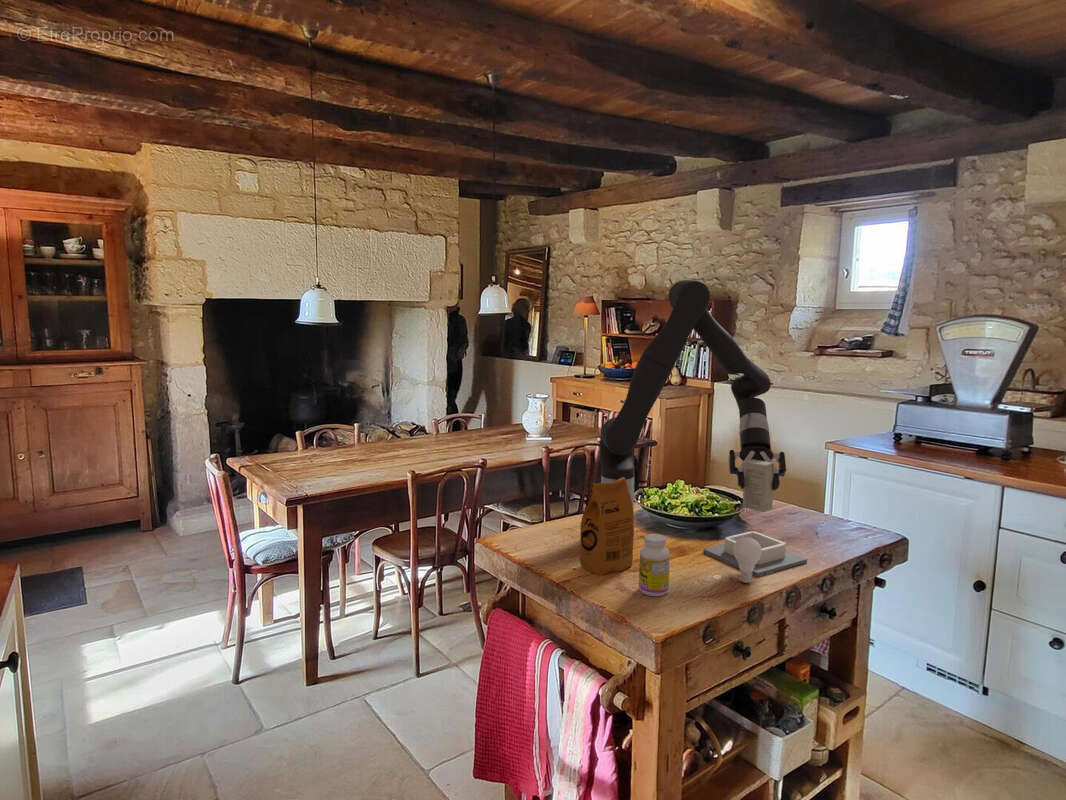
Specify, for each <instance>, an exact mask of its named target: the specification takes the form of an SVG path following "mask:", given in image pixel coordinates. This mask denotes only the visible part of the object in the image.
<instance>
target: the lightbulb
mask: <svg viewBox="0 0 1066 800" xmlns="http://www.w3.org/2000/svg"><path fill="white" fill-rule="evenodd" d="M733 553H734V556H735V558H736V560H737V561H738V563H739V568H740V569H739V568H738V569H739V571H740V574H739V581H740V582H742V583H743V584H750V583H752V581H753V575H752V571H753V570H754V567H755V564H756V563H757V562H758V561H759V560H760V558H761V555H762V549H761V546H760V544H759V543H758V542H757V541H756V540H755V539H753V538H750V537H743V538H740V539H739V540H737V541H736V543H735V544H734V547H733Z"/></svg>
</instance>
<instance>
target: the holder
mask: <svg viewBox="0 0 1066 800" xmlns="http://www.w3.org/2000/svg"><path fill="white" fill-rule="evenodd" d="M743 537H750V538H753V539H755V540H756V541H757V542H758V543H759V544H760V546H761V549H762V555H761V558H760V560H759V561H758V562H757V563H756V564H755V567H754V570H753V571H752V576H754V575H755V576H754V577H756V576H759V577H762V576H765V575H764V574H766V575H768V574H767V573H769V574H772V573H771V572H773V573H776V572H779V571H778V570H780V571H783V570H782V569H784V570H786V569H785V568H787V569H790V568H789V567H791V568H793V567H792V566H794V567H796V566H795V565H798V566H800V565H799V564H801V565H803V564H802V563H805V564H807V563H806V562H808V558H806V557H803V556H800V555H797V554H795V553H793V552H790V551H787V543H786V542H784V541H781V540H779V539H776V538H774V537H771V536H767V535H766V534H763V533H761V532H758V531H754V530H753V531H747V532H743V533H739V534H735V535H730V536H726V537H725V538H724V539H723V540H724V541H723V543H722V544H718V545H714V546H710V547H706V548H705V547H704V548H703V552H704V553H703V554H706V555H708V554H709V555H708V556H710V555H711V556H710V557H712V556H713V558H714V557H715V559H717V560H719V559H720V560H719V561H721V560H722V561H721V562H723V561H724V562H723V563H725V562H726V563H725V564H728V565H730V564H731V565H730V566H732V565H733V566H732V567H734V566H735V568H736V567H737V569H739V570H740V568H739V563H738V561H737V560H736V558H735V556H734V553H733V547H734V544H735V543H736V541H737V540H739V539H740V538H743ZM775 571H776V572H775ZM761 575H762V576H761Z"/></svg>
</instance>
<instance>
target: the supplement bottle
mask: <svg viewBox="0 0 1066 800" xmlns="http://www.w3.org/2000/svg"><path fill="white" fill-rule="evenodd" d="M666 541H667V537H666V536H665V535H663V534H658V533H649V534H646V535H645V536H644V543H645V545H643V546H642V547H641V548H640V550H639V573H638V574H639V575H638V589H639V591H640V593H642V594H644V595H645V596H649V597H662V596H663V597H664V596H665V595H666V594H668V592H669V582H670V581H669V580H670V557H671V556H670V555H671V553H670V550H669V549H668V547H666V546H665V545H666V543H667V542H666Z"/></svg>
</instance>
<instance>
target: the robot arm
mask: <svg viewBox="0 0 1066 800" xmlns="http://www.w3.org/2000/svg"><path fill="white" fill-rule="evenodd" d="M710 301H711V291H710V289H709V287H708V285H707V284H706V283H705V282H703V281H701V280H698V279H697V280H696V279H683V280H679V281H676V282H675V283H674V284H672V285H671V287H670V289H669V291H668V303H669V305H670V306H671V308H672V310H671V313H670V315H669V317H668V319H667V321H666V322H665V324H664V325H663V327H662V328H661V329H660V331H659V332H658V333H657V334H656V335H655V336H654V337H653V338H652V340H651V341H650V342H649V343H648V344H647V346H646V347H645V349H643V350H644V351H643V352H642V354H641V356H640V358H639V360H638V362H637V363H636V365H635V367H634V370H633V372H632V376H631V378H630V382H629V387H628V389H627V395H626V397H625V399H624V402H623V404H622V407H621V409H620V410H619V412H618V414H617V415H616V417H611V418H610V419H608V420H606V421H605V422H604V423H603V425H602V426H601V429H600V435H599V436H600V438H599V439H600V440H599V441H600V444H599V445H600V450H599V452H600V453H599V454H600V455H599V456H600V459H599V461H600V462H599V463H600V470H601V471H600V473H601V474H600V476H601V477H600V478H601V479H600V481H601V482H600V483H614V482H615V481H617V480H618V479H620V478H622V477H624V478H625V479H626V483H627V486H628V489H629V494H630V496H631V500H632V503H633V507H634V503H635V501H634V499H635V498H634V497H635V472H636V471H635V470H636V469H635V464H634V455H633V453H634V451H633V450H634V448H635V447H636V446H637V443H638V441H639V439H640V435H641V433H642V431H643V429H644V425H645V423H646V421H647V418H648V416H649V413H650V411H651V410H652V408H653V406H654V405H655V404H656V402H657V399H658V398H659V396H660V395H661V392H662V390H663V388H664V387H665V385H666V383H667V382H668V379H669V378H670V375H671V374H672V372H673V370H674V367H675V365H676V363H677V361H678V359H679V357H680V356H681V354H682V351H683V349H684V347H685V345H686V343H687V341H688V339H689V336H690V335H691V333H692V331H693V330H694V331H695V333H696V334H697V335H698V336H699V338H700V339H701V340H702V341H703V343H704V345H706V347H707V348H708V349H709V351H710V353H711V354H712V356H713V357H714V358H715V360H716V361H717V363H718V364H719V366H720V367H721V368H722V370H723V371H724V372H725V373H726V374H727V375H739V374H741V375H739V376H737V377H736V378H734V379H732V382H731V385H730V389H731V392H732V395H733V397H734V399H735V401H736V405H737V408H738V412H739V413H738V414H739V416H738V417H739V425H738V426H739V427H738V428H739V430H738V431H739V432H738V433H739V442H740V451H735V450H734V449H730V450H729V452H728V466H729V467H728V468H729V474H731V475H736V476H737V480H736V481H737V486H738V487H740V489H742V490H743V489H744V462H745V461H748V460H751V459H754V460H760V461H766V462H772V463H774V462H773V461H772V460H773V459H774V460H775V462H776V463H778V468H777V467H776V466H775V465H774V470H773V491H775V492H776V491H777V489H779V487H780V477H784V476H786V475H785V473H786V472H787V465H786V463H787V462H786V454H785V452H784V451H779V453H777V452H776V453H774V452H773V450H772V446H771V438H770V437H771V436H770V427H769V423H768V418H767V406H766V403H765V402H764V400H762V399H761V398H758V397H759V396H761V395H763V394H766V393H767V392H769V391H770V389H771V385H772V383H771V379H770V377H769V375H768V373H766V372H765V371H764V370H763V369H762V368H761V367H759V366H758V365H757V364H755V363H754V362H753V361H752V360H751V359H749V357H747V356H746V354H745V353H744V352H743V350H742V348H741V347H740V346H739V344H738V343H737V342H736V340H735V339H734V338H733V337H732V335H731V334H730V333H729V332H728V331H727V330H726V329H725V328H724V327H722V326H721V324H719V322H718V321H717V320H716V319H715V318H714V317H713V316H712V314H711V313H710V311H709V310H708V306H709V304H710ZM738 458H739V459H740V460H741V461H742V463H741V465H739V467H736V461H737V460H738Z"/></svg>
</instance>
